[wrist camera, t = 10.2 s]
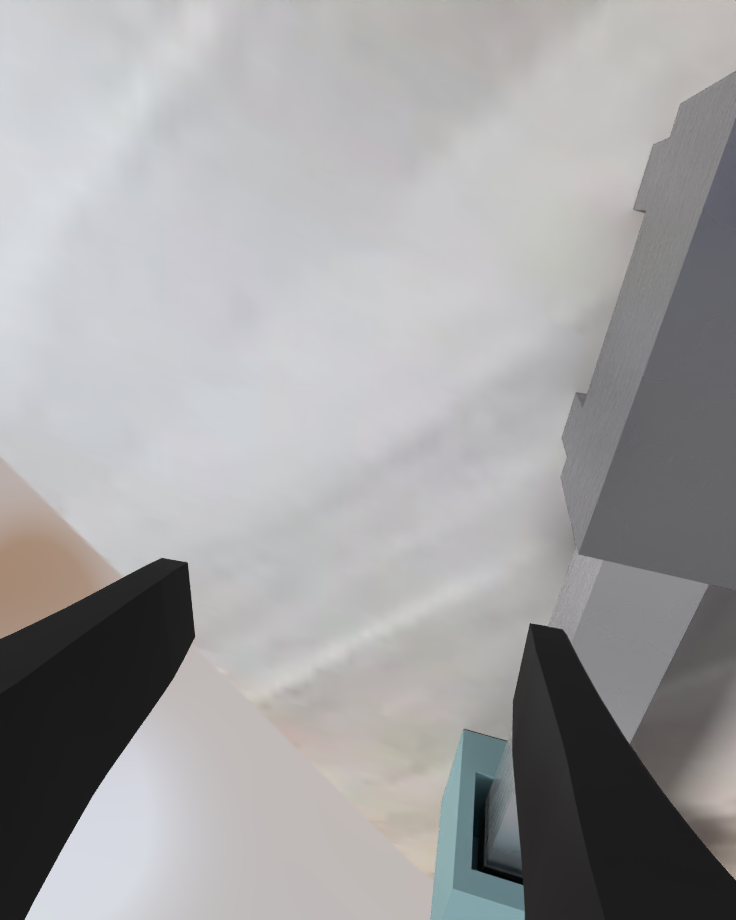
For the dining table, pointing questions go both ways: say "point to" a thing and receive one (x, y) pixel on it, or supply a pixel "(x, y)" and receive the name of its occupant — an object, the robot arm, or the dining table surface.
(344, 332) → the dining table surface
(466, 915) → the socket
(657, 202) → the sleeve
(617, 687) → the extension bar
